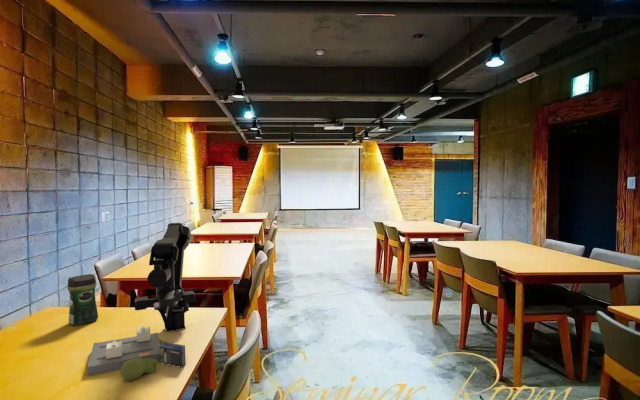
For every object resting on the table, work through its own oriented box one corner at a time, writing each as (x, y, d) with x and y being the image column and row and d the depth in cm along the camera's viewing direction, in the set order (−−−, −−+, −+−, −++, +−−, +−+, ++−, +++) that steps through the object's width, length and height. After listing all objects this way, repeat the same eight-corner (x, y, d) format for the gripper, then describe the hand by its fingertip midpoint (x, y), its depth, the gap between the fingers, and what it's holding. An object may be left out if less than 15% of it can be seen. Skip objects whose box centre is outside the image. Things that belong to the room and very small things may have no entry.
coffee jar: (93, 316, 153) (92, 271, 152) (100, 320, 148) (99, 274, 147) (66, 322, 146) (64, 276, 145) (72, 327, 140) (70, 279, 140)
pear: (117, 359, 102) (151, 352, 110) (115, 379, 101) (149, 370, 109) (129, 364, 99) (162, 356, 107) (126, 385, 98) (160, 375, 106)
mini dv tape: (160, 363, 111) (159, 343, 111) (163, 361, 113) (163, 341, 112) (182, 367, 108) (181, 347, 108) (185, 365, 110) (185, 345, 110)
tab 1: (122, 350, 113) (122, 339, 113) (121, 356, 110) (121, 344, 110) (107, 353, 112) (107, 341, 112) (106, 359, 108) (106, 346, 108)
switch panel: (157, 339, 129) (157, 332, 128) (161, 361, 112) (160, 352, 112) (94, 350, 120) (93, 342, 120) (87, 375, 104) (87, 366, 104)
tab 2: (150, 335, 125) (149, 325, 125) (150, 339, 121) (150, 329, 121) (136, 337, 123) (136, 327, 123) (136, 342, 120) (136, 331, 120)
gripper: (134, 288, 114) (135, 339, 114) (197, 281, 122) (198, 328, 122) (134, 280, 124) (135, 326, 124) (193, 274, 132) (193, 317, 132)
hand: (166, 325), depth 126 cm, fingers closed
